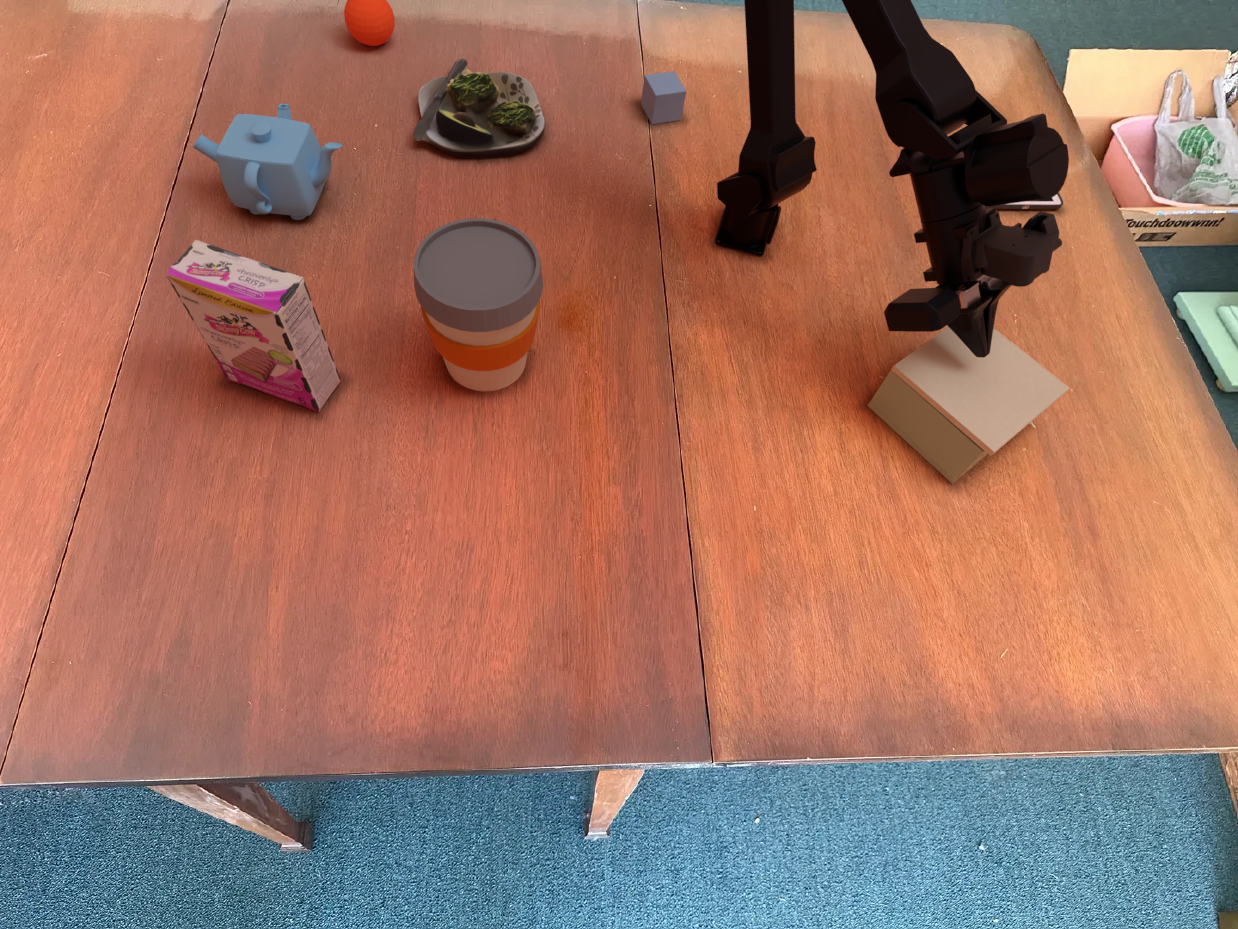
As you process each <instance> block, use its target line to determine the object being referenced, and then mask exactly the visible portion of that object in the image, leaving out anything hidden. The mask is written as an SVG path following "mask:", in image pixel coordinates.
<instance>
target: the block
mask: <svg viewBox="0 0 1238 929" xmlns="http://www.w3.org/2000/svg"><path fill="white" fill-rule="evenodd" d="M641 91H642V92H641V100H640V106H641V108H642V109H643V111H644V113H645V116H646V117H647V119H648V120H649V122H650V124H651V125H657V124H664V123H671V122H676V121H682V118H683V114H684V113H683V112H684V107H685V102H686V96H687V89H686V87H685V86H684V84H683V82H682V81H681V80H680V78H679V76H678V74H677V73H676V71H675V70H672V71H665V72H658V73H657V72H656V73H650V74H644V77H643V85H642V90H641Z"/></svg>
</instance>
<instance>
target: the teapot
mask: <svg viewBox="0 0 1238 929" xmlns="http://www.w3.org/2000/svg"><path fill="white" fill-rule="evenodd" d="M321 146H322V145H321V144H320V142H319V140H318V137H317V135H316V133H315V131H314V129H313V127H312V126H311V124H309V123H307V122H304V121H299V120H294V119H293V115H292V111H291V106H290V104H289V103H280V104H279V105H278V106H277V110H276V116H271V115H270V116H269V115H261V114H250V113H237V114H236V115H235V116H234V117H233V119H232V121H231V123H230V125H229V127H228V128H227V130H226V132H225V134H224V136H223V137H222V139H221V141H220V143H219V144H218V143H217V142H215V141H213V140H212V139H210V138H209V137H207V136H206V135H204V134H202V133H200V134H199V135H198V137H197V138H196V140H195V142H194V143H193V146H192V148H193V149H195V150H196V151H198V152H199V153H201V154H202V155H204V156H205V157H207V158H209V159H210V160H212V161H213V162H215V163H216V164H217V165H218V170H219V175H220V178H221V182H222V184H223V187H224V190H225V192H226V195H227V197H228V198H229V200H230V201H231V203H232V204H233V205H234V206H235V207H238V208H242V209H246V210H249V212H250V213H251V214H253V215H268V214H274V215H282V216H283V215H284V216H290V218H291V219H292V220H295V221H301V220H304V219H305V218H306V217H308V216H309V217H310V216H311V215H312V213H313V212H314V210H315V207H316V206H317V204H318V202H319V199H320V197H321V194H322V192H323V189H324V186H325V184H326V182H327V181H328V180H329V178H330V176H331V173H332V167H333V166H332V163H333V162H332V156H333V153H334V152H335V151H337V150H339V149H341V148H343V146H344V145H343V144H342V143H340V142H327V143H325V144H323V146H322V147H321Z"/></svg>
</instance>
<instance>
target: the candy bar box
mask: <svg viewBox="0 0 1238 929" xmlns="http://www.w3.org/2000/svg"><path fill="white" fill-rule="evenodd" d="M165 277H166V278H167V280H168V281H169V283H170V285H171V287H172V288H173V290H174V292H175V293H176V295H177V297H178V299H179V300H180V302H181V303H182V305H183V307H184V309H185V310H186V312H187V314H188V315H189V317H190V319H191V321H192V322H193V324H194V325H195V327H196V328H197V330H198V332H199V333H200V335H201V337H202V340H203V341H204V342H205V344H206V346H207V348H208V349H209V350H210V352H211V354H212V356H213V358H214V359H215V360H216V363H217V364H218V366H219V367H220V370H221V371H222V373H223V375H224V376H225V379H226V380H228V381H229V382H233V383H236V384H239V385H242V386H245V387H247V388H250V389H253V390H256V391H259V392H262V393H265V394H266V395H270V396H273V397H276V398H278V399H281V400H283V401H286V402H289V403H292V404H296V405H298V406H301V407H303V408H306V409H309V410H312V411H314V412H317V413H320V412H321V411H322V410H323V408H324V407H325V405H326V404H327V402H328V400H329V398H330V397H331V395H332V394H333V393H334V392H335V390H336V389H337V387H338V386H339V384H340V383H341V381H342V379H341V376H340V374H339V370H338V368H337V365H336V362H335V360H334V357H333V355H332V352H331V349H330V346H329V343H328V341H327V338H326V336H325V333H324V330H323V327H322V325H321V322H320V319H319V316H318V314H317V311H316V309H315V306H314V302H313V300H312V298H311V295H310V292H309V289H308V287H307V284H306V281H305V278H304V277H303V276H301V275H298V274H295V273H292V272H289V271H286V270H283V269H281V268H278V267H275V266H272V265H269V264H267V263H263V262H261V261H258V260H255V259H252V258H249V257H246V256H245V255H244V256H243V255H241V254H238V253H235V252H232V251H229V250H226V249H225V248H224V249H223V248H220V247H218V246H215V245H213V244H209V243H206V242H204V241H202V240H198V239H195V240H194V241H193V242H192V243H191V245H190V246H189V247H187V249H186V251H185V252H183V254H182V255H181V256H180V257H179V258H178V260H177V262H174V263H173V264H172V265H171V266H170V267H169V269H168V270H167V271H166V273H165Z"/></svg>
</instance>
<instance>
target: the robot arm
mask: <svg viewBox="0 0 1238 929" xmlns="http://www.w3.org/2000/svg"><path fill="white" fill-rule="evenodd" d="M841 2H842V4H843V6H844V8H845V10H846V12H847V14H848V16H849V18H850V20H851V23H852V24H853V26H854V28H855V31H856V32H857V34H858V36H859V38H860V40H861V43H862V44H863V46H864V48H865V50H866V52H867V54H868V56H869V59H870V60H871V63H872V67H873V69H874V72H875V93H874V94H875V95H874V97H875V98H874V99H875V103H876V106H877V108H878V112H879V115H880V118H881V121H882V125H883V127H884V130H885V132H886V135H887V136H888V138H889V139H890V141H891V142H892V144H894V145H895V146H896V147H897V148H901V150H900V152H899V156H898V158H897V160H896V161H895V163H894V164H893V165H892V167H891V169H890V170H889V172H888V174H889V177H891V178H897V177H903V176H906V175H909V176H910V181H911V185H912V190H913V194H914V197H915V202H916V206H917V211H918V215H919V219H920V225H921V228H920V229H919V230H917V231H915V232H914V233H913V237H914V240H915V244H921V243H922V244H923V243H925V245H926V249H927V254H928V258H929V263H930V267H929V268H927V269H926V270H924V271H923V272H922V274H923V278H924V282H925V283H926V282H927V283H929V282H936V284H937V286H935V287H920V288H919V287H918V288H909V289H908V290H906V291H905V292H903V293H902V294H900V295H899V296H897V297H896V298H895V299H893V300H891V301H890V302H889V303H888V304H887V306H886V307H885V309H884V311H883V315H884V318H885V322H886V326H887V330H888V332H907V333H909V332H910V333H911V332H912V333H913V332H917V333H919V332H921V333H923V332H924V333H928V332H929V333H933V332H936V331H940V330H943V329H945V328H946V327H949V328H950V329H951V330H952V331H953V332H954V333H955V334H956V335H957V336H958V337H959V338H960V340H961V341H962V342H963V343H964V344H965V345H966V346H967V347H968V348H969V350H970V351H971V352H972V353H973V354H974V355H975V356H976V357H981V358H984V357H986V356H987V355H988V354H989V353H990V348H991V341H992V334H993V328H994V329H995V320H996V314H997V310H998V306H999V305H998V304H999V300H1000V299H1001V298H1002V297H1003V296H1004V294H1005V293H1006V292H1007V291H1008V290H1009V289H1010V288H1011V287H1012V286H1013V287H1018V288H1022V287H1027V286H1029V285H1032V284H1033V283H1034V281H1035V280H1036V279H1037V278H1039V277H1040V276H1041V275H1042V274H1046V273H1048V272H1049V271H1050V268H1051V263H1052V258H1053V252H1055V251H1056V250H1058V249H1059V248H1061V247H1062V245H1063V241H1062V239H1061V238H1060V228H1059V226H1058V222H1057V218H1056V216H1055V214H1054V213H1050V212H1046V211H1038V212H1037V213H1035V214H1034V215H1032V216H1031V217H1030V218H1028V220H1027V221H1026V222H1025V224H1024V225H1023V223H1021V222H1016V224H1014V225H1013V226H1012V225H1011V226H1010V225H1005V224H1003V223H1002V221H1001V216H1000V213H999V211H997V209H995V208H989V209H985V206H996V205H1003V204H1010V203H1017V202H1025V201H1032V200H1039V199H1046V198H1051V197H1054V196H1055V195H1057V193H1058V192H1059V193H1060V191H1061V190H1062V189H1063V187H1064V185H1065V182H1066V180H1067V177H1068V172H1069V162H1070V158H1069V156H1070V155H1069V148H1068V145H1067V144H1066V143H1064V140H1063V138H1062V136H1061V134H1060V133H1059V131H1058V130H1056V129H1055V128H1053V127H1050V126H1049V125H1048V120H1047V114H1045V113H1038V114H1034V115H1030V116H1029V117H1026V118H1024V119H1023V120H1018V121H1016V122H1010V123H1008V119H1007V118H1006V117H1005V116H1004V115H1003V114H1002V113H1000V112H999V111H998V110H997V108H996V107H994V106H993V105H992V104H991V102H989V101H988V100H987V99H986V98H985V97H984V96H983V95H982V94H981V93H980V92H978V90H977V89H976V86H975V83H974V81H973V79H972V78H971V76H970V75H969V73H968V72H967V71H966V69H965V68H964V66H963V65H962V64H961V62H960V61H959V59H958V58H957V57H956V55H955V54H954V52H953V51H952V50H950V49H949V48H948V47H946V46H944V45H943V44H941V43H940V42H939V41H937V40H936V39H934V38H933V37H932V36H931V34H929V32H928V31H927V29H926V28H925V26H924V24H923V23H922V20H921V18H920V16H919V15H918V14H919V13H918V12H917V10H916V7H915V5H914V4H913V1H912V0H841ZM744 19H745V21H744V22H745V38H746V59H747V60H746V61H747V76H748V78H747V79H748V98H749V100H748V101H749V117H750V118H749V119H750V126H749V131H748V133H747V136H746V138H745V141H744V143H743V146H742V148H741V150H740V153H739V157H738V168H737V169H738V170H737V172H735V173H733V174H731V175H729V176H727V177H725V178H723V179H721V180H719V181H717V182H716V192H717V200H719V201H720V202H721V203H722V204H723V205H724V208H723V211H722V214H721V217H720V220H719V225H718V228H717V231H716V235H715V238H714V244H715V245H717V246H720V247H723V248H728V249H731V250H735V251H739V252H742V253H746V254H750V255H753V256H757V257H763V256H765V251H766V249H767V248H766V247H767V245H771V244H772V240H773V238H774V235H775V232H776V229H777V227H778V223H779V220H780V216H781V212H782V206H781V205H779V204H780V203H782V202H784V201H786V200H788V199H789V198H791V197H792V196H795V195H797V194H798V193H800V192H802V191H804V190H805V188H807V187H808V185H810V184H811V182H812V180H813V173H815V172H816V171H817V170H818V169H817V165H816V162H815V152H816V151H815V150H816V139H815V137H814V136H806V135H805V134H804V132H803V130H802V129H801V127H800V125H799V124H798V123H797V117H796V60H795V59H796V57H795V54H796V53H795V52H796V51H795V50H796V49H795V48H796V47H795V0H744ZM964 125H965V126H964ZM963 126H964V127H963ZM951 133H952V134H951ZM1022 225H1023V226H1022Z"/></svg>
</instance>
